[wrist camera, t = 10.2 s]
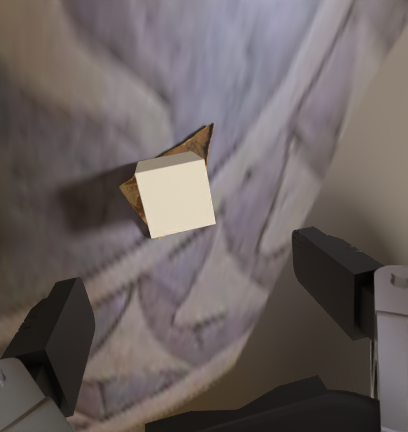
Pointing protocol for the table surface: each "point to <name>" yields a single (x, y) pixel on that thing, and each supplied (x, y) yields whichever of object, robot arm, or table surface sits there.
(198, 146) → the shard
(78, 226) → the table surface
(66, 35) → the table surface
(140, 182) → the cream block
